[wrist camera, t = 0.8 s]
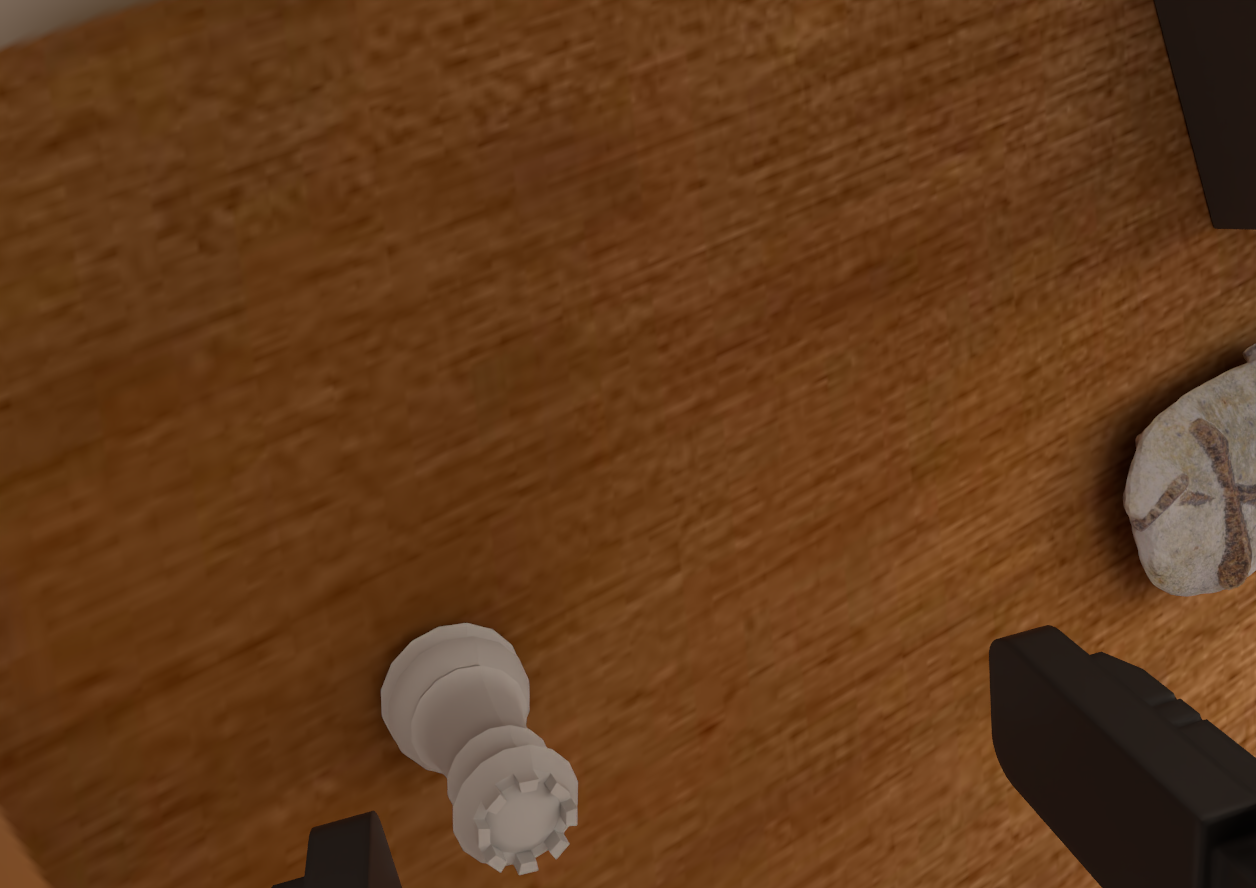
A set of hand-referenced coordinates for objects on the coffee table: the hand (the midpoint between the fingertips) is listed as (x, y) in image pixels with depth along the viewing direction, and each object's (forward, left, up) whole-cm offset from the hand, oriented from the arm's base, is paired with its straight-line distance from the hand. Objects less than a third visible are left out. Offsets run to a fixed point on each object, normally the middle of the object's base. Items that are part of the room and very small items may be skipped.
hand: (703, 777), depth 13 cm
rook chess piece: (+7, -3, -19) cm, 20 cm away
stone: (+20, +27, -19) cm, 38 cm away
